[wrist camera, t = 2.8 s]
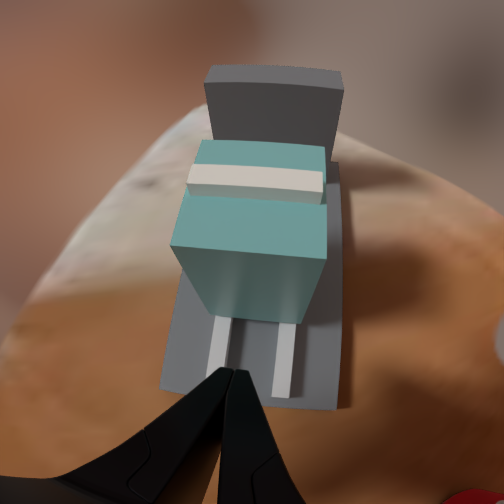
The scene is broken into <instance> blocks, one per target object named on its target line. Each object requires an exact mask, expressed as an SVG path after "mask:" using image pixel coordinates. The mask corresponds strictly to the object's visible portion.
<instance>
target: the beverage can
mask: <svg viewBox="0 0 504 504" xmlns="http://www.w3.org/2000/svg"><path fill="white" fill-rule="evenodd" d="M442 504H504V494H500V493H495V492H490V491H486V490H482V489H469V490H465V491H462V492H460V493H458V494H456V495H454V496H452V497H450V498H449V499H448V500H446V501H445V502H443V503H442Z"/></svg>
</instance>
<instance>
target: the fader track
mask: <svg viewBox="0 0 504 504" xmlns="http://www.w3.org/2000/svg"><path fill="white" fill-rule="evenodd" d="M204 87H205V93H206V99H207V105H208V111H209V116H210V122H211V127H212V133H213V139H214V140H236V141H259V142H275V143H289V144H301V145H312V146H322V147H325V165H326V197H327V260H326V262H325V265H324V268H323V270H322V273H321V275H320V278H319V280H318V283H317V285H316V288H315V291H314V293H313V295H312V298H311V300H310V303H309V305H308V308H307V310H306V313H305V315H304V317H303V320H302V322H301V324H294V323H283V322H272V321H261V320H252V319H242V318H233V317H225V316H216V315H210V314H209V312H208V311H207V309H206V307H205V306H204V304H203V302H202V301H201V299H200V297H199V296H198V294H197V292H196V290H195V289H194V287H193V285H192V284H191V282H190V280H189V278H188V277H187V275H186V273H185V271H184V270H183V269H182V274H181V278H180V283H179V287H178V292H177V296H176V301H175V306H174V311H173V315H172V320H171V325H170V330H169V336H168V341H167V346H166V351H165V357H164V362H163V368H162V374H161V380H160V386H159V389H161V390H165V391H170V392H175V393H180V394H185V395H186V394H187V393H189V392H190V391H191V390H192V389H194V388H195V387H196V386H197V385H198V384H200V383H201V382H202V381H203V380H204V379H206V378H207V377H208V376H209V375H210V374H212V373H213V372H214V371H215V370H216V369H218V368H219V367H227V368H233V369H234V370H235V369H243V370H248V371H249V372H250V375H251V378H252V380H253V383H254V386H255V389H256V391H257V394H258V397H259V399H260V402H261V405H262V406H269V407H280V408H293V409H311V410H336V409H337V399H338V387H339V373H340V357H341V336H342V303H343V250H342V216H341V196H340V179H339V165H338V162H330V160H331V155H332V151H333V146H334V141H335V136H336V131H337V125H338V120H339V115H340V110H341V104H342V99H343V93H344V87H343V82H342V77H341V73H340V71H332V70H324V69H314V68H304V67H291V66H274V65H272V66H271V65H212V66H211V69H210V71H209V73H208V75H207V77H206V79H205V81H204Z"/></svg>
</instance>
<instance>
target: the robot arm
mask: <svg viewBox="0 0 504 504" xmlns="http://www.w3.org/2000/svg"><path fill="white" fill-rule="evenodd" d="M220 451H221V456H220V469H219V483H218V498H217V504H306V503H305V501H304V500H303V498H302V496H301V495H300V493H299V491H298V490H297V488H296V486H295V484H294V483H293V481H292V479H291V477H290V475H289V473H288V471H287V468H286V466H285V464H284V462H283V459H282V457H281V454H280V453H279V449H278V447H277V444H276V442H275V439H274V437H273V434H272V431H271V429H270V426H269V423H268V421H267V418H266V416H265V413H264V410H263V408H262V405H261V402H260V399H259V397H258V394H257V391H256V389H255V386H254V383H253V380H252V378H251V375H250V372H249V371H248V370H243V369H235V370H234V369H233V368H227V367H219V368H218V369H216V370H215V371H214V372H213V373H212V374H210V375H209V376H208V377H207V378H206V379H204V380H203V381H202V382H201V383H200V384H198V385H197V386H196V387H195V388H194V389H192V390H191V391H190V392H189V393H187V394H186V395H185V396H184V397H183V398H181V399H180V400H179V401H178V402H176V403H175V404H174V405H173V406H171V407H170V408H169V409H168V410H166V411H165V412H164V413H162V414H161V415H160V416H159V417H157V418H156V419H155V420H153V421H152V422H151V423H150V424H148V425H147V426H146V427H144V430H143V429H142V430H140V431H139V432H138V433H136V434H135V435H134V436H132V437H131V438H129V439H128V440H126V441H125V442H124V443H122V444H121V445H119V446H117V447H116V448H114V449H112V450H111V451H109V452H107V453H106V454H104V455H102V456H100V457H98V458H96V459H94V460H92V461H91V462H89V463H87V464H85V465H83V466H81V467H79V468H77V469H75V470H73V471H71V472H69V473H66V474H64V475H61V476H58V477H53V478H46V479H39V478H21V477H10V476H0V504H202V501H203V499H204V496H205V493H206V490H207V488H208V485H209V482H210V479H211V477H212V474H213V471H214V468H215V465H216V463H217V460H218V457H219V454H220Z"/></svg>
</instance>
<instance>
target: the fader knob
mask: <svg viewBox="0 0 504 504" xmlns="http://www.w3.org/2000/svg"><path fill="white" fill-rule="evenodd" d="M186 184H187V187H186V191H185V194H184V197H183V201H182V204H181V207H180V211H179V214H178V218H177V221H176V225H175V228H174V232H173V236H172V239H171V243H170V247H171V248H172V250H173V252H174V254H175V256H176V257H177V259H178V261H179V263H180V264H181V266H182V268H183V270H184V271H185V273H186V275H187V277H188V278H189V280H190V282H191V284H192V285H193V287H194V289H195V290H196V292H197V294H198V296H199V297H200V299H201V301H202V302H203V304H204V306H205V307H206V309H207V311H208V312H209V314H210V315H216V316H225V317H233V318H242V319H252V320H261V321H272V322H283V323H294V324H301V322H302V320H303V317H304V315H305V313H306V310H307V308H308V305H309V303H310V300H311V298H312V295H313V293H314V291H315V288H316V285H317V283H318V280H319V278H320V275H321V273H322V270H323V268H324V265H325V262H326V260H327V197H326V165H325V147H322V146H312V145H301V144H289V143H275V142H259V141H236V140H202V141H201V144H200V147H199V150H198V153H197V156H196V159H195V162H194V164H192V167H191V170H190V173H189V176H188V179H187V182H186Z"/></svg>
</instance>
